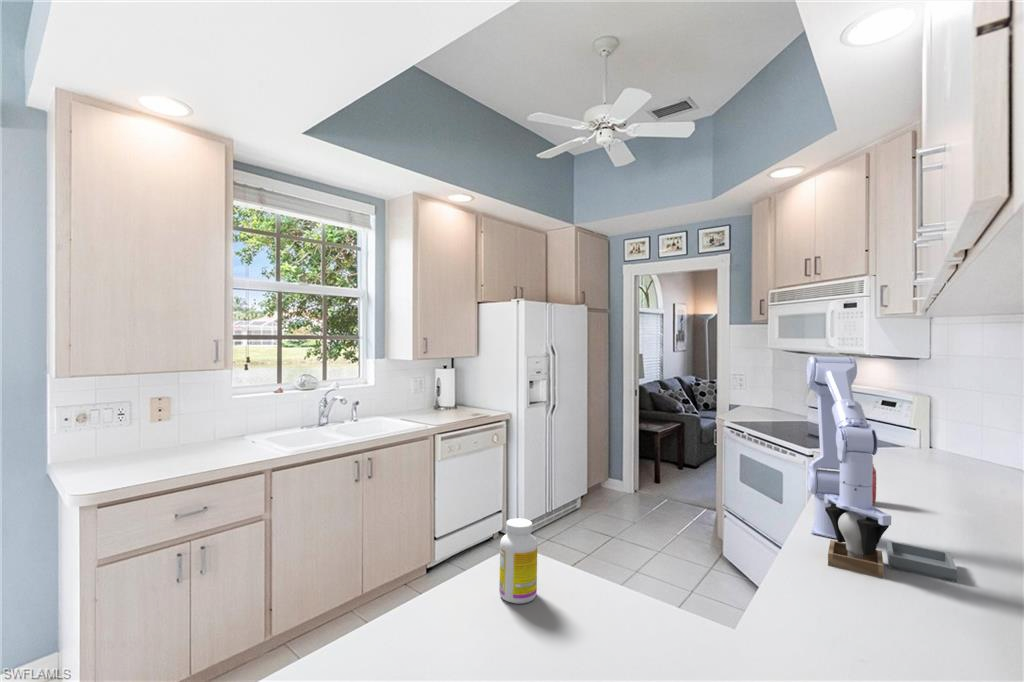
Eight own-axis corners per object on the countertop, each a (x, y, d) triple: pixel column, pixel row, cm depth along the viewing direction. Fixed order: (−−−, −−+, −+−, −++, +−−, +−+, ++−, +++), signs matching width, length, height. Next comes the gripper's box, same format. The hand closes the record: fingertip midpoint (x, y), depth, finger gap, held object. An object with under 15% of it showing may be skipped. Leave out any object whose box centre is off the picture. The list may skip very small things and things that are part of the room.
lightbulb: (839, 566, 100) (840, 513, 100) (835, 555, 106) (836, 505, 106) (876, 573, 97) (876, 518, 98) (870, 561, 103) (870, 510, 103)
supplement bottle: (543, 593, 86) (545, 521, 86) (523, 609, 80) (525, 532, 80) (512, 582, 89) (514, 513, 90) (491, 597, 84) (493, 523, 84)
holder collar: (830, 551, 108) (830, 540, 108) (881, 562, 102) (881, 550, 102) (827, 565, 100) (827, 553, 100) (883, 578, 95) (883, 565, 95)
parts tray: (886, 551, 109) (886, 540, 109) (949, 564, 102) (949, 552, 103) (888, 567, 100) (888, 555, 100) (957, 582, 94) (957, 569, 94)
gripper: (812, 474, 108) (812, 535, 108) (869, 493, 94) (869, 563, 94) (840, 474, 109) (839, 534, 109) (900, 493, 95) (900, 562, 95)
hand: (855, 547), depth 101 cm, fingers closed on lightbulb, 6 cm apart
